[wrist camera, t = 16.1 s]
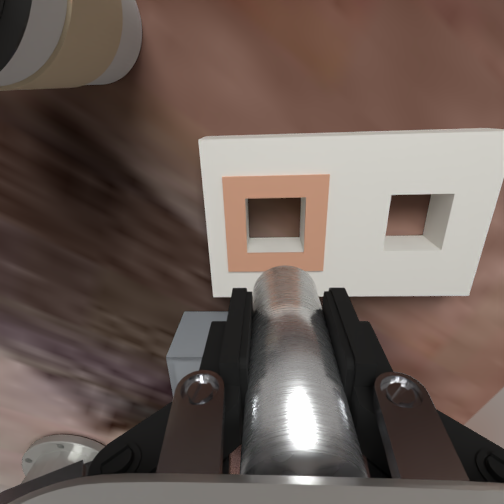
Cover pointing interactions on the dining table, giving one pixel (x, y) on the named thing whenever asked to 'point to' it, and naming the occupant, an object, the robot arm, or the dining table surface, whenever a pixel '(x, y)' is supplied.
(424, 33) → the dining table surface
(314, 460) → the pin
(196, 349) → the cover
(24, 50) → the coffee cup
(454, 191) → the board
